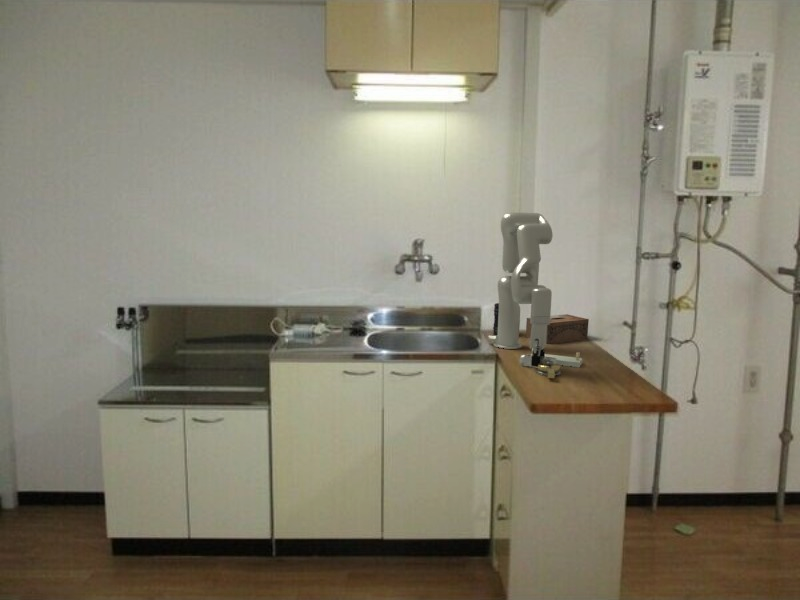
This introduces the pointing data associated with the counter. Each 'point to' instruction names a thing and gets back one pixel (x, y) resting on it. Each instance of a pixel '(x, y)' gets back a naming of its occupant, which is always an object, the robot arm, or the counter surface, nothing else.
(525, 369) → the counter surface
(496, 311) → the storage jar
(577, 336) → the tissue box cover
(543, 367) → the gold handled disc
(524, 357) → the steel bar
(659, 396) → the counter surface
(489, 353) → the counter surface
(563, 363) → the peg rest
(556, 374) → the round gray base
